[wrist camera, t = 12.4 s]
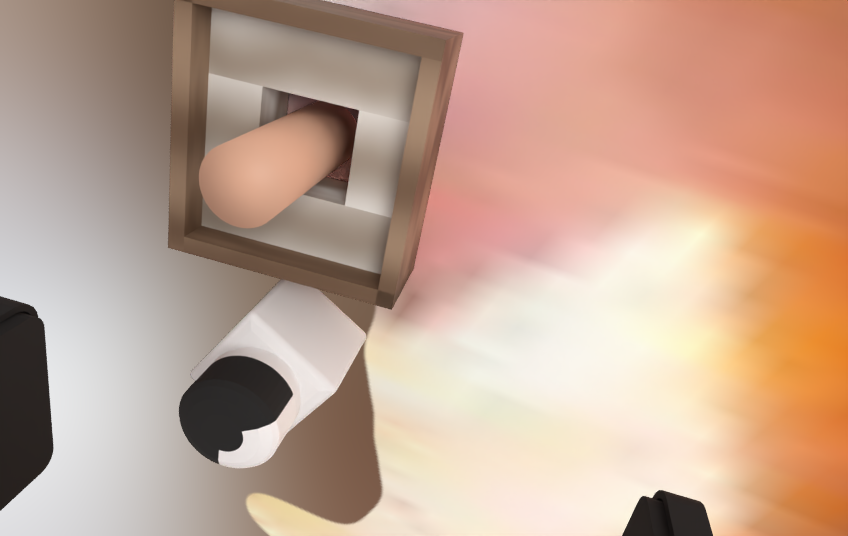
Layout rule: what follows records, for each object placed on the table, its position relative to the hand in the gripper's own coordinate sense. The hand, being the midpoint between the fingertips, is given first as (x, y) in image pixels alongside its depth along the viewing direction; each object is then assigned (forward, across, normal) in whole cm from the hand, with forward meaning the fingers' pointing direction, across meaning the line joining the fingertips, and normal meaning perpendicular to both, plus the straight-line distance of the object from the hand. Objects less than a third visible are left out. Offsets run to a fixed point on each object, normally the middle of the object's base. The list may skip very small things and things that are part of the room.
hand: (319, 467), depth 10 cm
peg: (+30, +10, +4) cm, 32 cm away
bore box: (+30, +10, +4) cm, 32 cm away
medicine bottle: (+31, +10, +18) cm, 37 cm away
